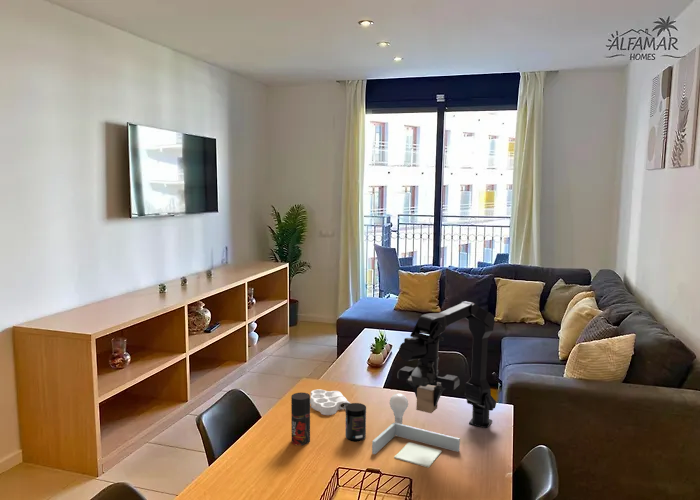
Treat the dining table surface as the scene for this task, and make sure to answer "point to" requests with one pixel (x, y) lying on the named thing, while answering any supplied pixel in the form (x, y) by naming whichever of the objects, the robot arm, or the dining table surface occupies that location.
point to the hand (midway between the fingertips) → (427, 404)
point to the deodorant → (300, 418)
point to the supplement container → (355, 422)
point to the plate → (418, 454)
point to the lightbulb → (398, 406)
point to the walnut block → (426, 399)
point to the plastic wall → (415, 437)
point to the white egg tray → (327, 401)
